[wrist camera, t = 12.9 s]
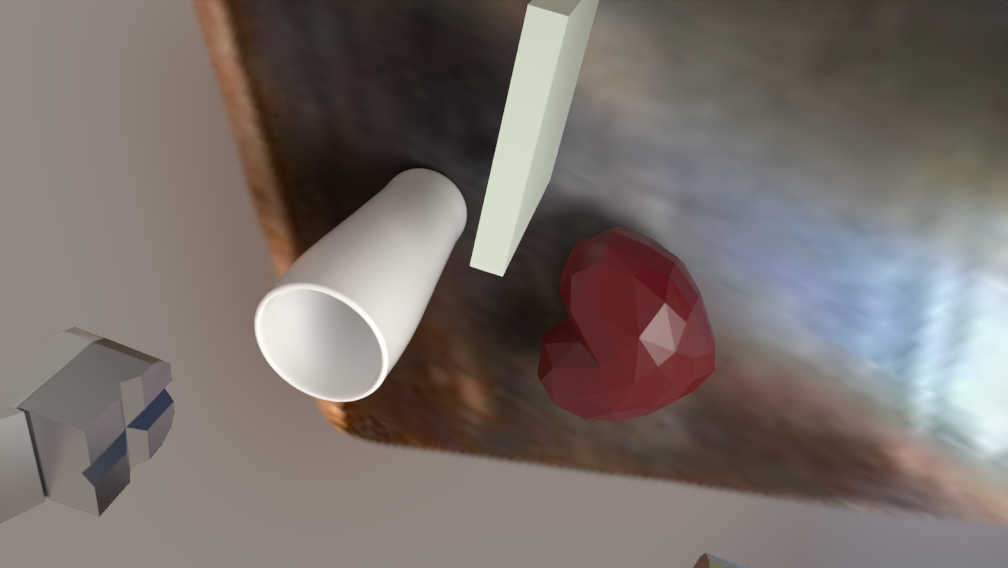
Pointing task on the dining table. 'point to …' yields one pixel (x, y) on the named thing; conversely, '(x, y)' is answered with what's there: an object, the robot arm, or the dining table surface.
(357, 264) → the drinking glass
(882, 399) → the dining table surface
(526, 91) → the sheet
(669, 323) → the heart
